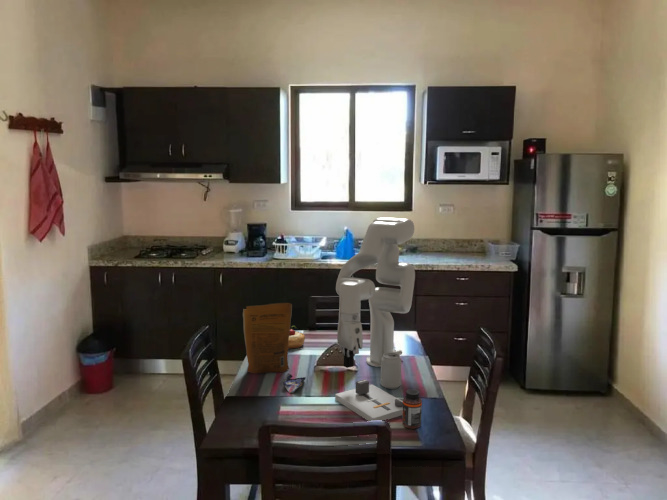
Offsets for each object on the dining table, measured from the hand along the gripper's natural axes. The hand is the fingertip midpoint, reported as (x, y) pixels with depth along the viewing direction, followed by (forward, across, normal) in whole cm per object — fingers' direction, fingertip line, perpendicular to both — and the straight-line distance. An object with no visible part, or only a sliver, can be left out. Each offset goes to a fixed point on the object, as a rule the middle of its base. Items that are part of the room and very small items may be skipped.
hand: (348, 366), depth 202 cm
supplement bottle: (+10, -32, -3) cm, 33 cm away
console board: (+10, -14, -1) cm, 17 cm away
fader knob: (+7, -8, -1) cm, 11 cm away
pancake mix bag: (+10, +34, +15) cm, 38 cm away
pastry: (+9, +56, -8) cm, 58 cm away
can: (+10, -4, -17) cm, 20 cm away
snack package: (+10, +16, +14) cm, 23 cm away
